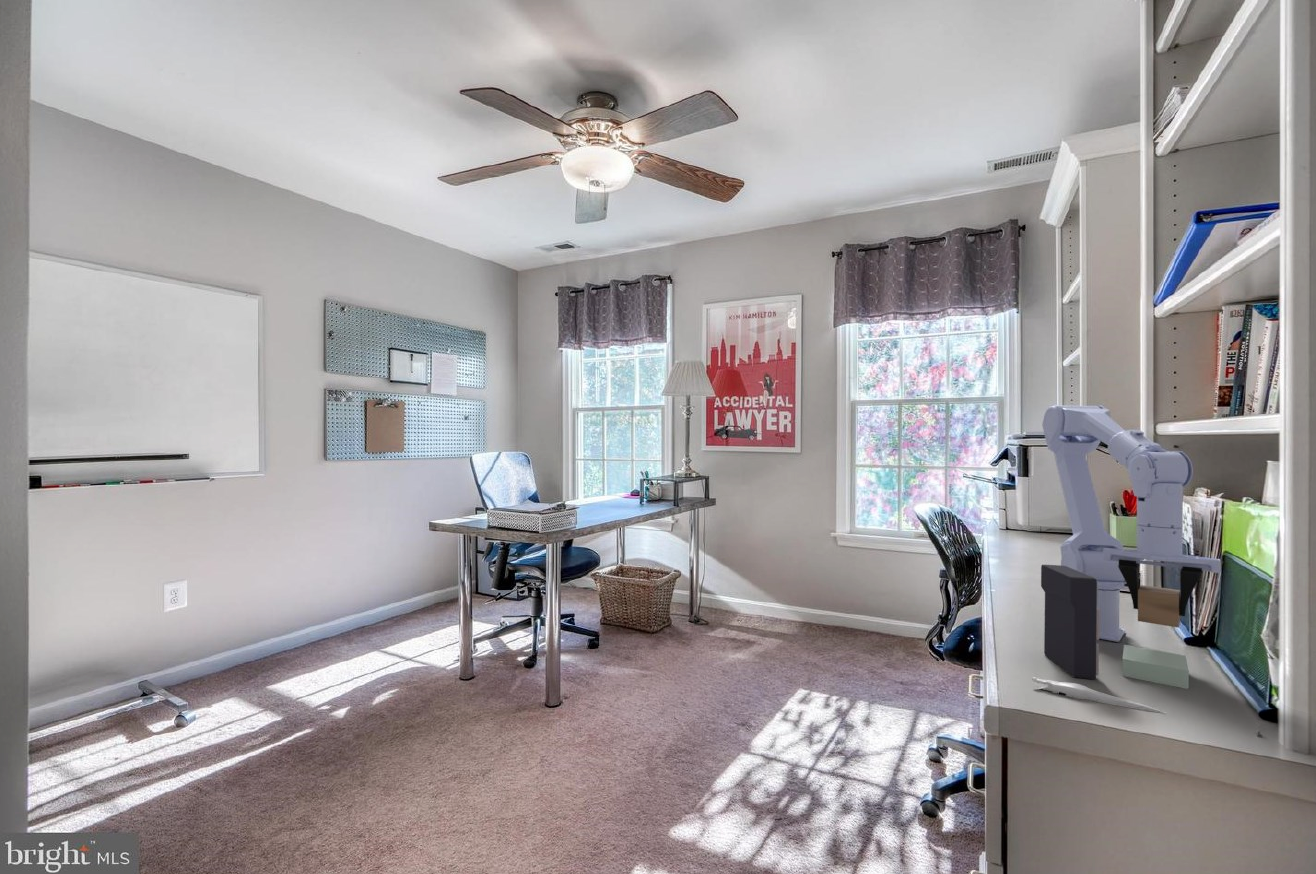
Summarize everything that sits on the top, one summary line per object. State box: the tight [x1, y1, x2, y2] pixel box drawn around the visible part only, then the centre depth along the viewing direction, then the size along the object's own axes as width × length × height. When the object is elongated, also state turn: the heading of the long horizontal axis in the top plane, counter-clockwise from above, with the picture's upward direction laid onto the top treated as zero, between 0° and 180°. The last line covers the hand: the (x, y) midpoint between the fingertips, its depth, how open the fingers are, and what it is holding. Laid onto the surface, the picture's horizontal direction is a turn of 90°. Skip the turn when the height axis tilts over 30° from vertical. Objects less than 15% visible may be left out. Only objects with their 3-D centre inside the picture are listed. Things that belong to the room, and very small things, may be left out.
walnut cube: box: [1137, 584, 1181, 629], centre depth 99 cm, size 5×5×5 cm
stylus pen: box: [1031, 676, 1167, 715], centre depth 84 cm, size 15×3×2 cm, turn 57°
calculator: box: [1040, 564, 1100, 680], centre depth 97 cm, size 11×4×15 cm, turn 168°
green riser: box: [1121, 644, 1190, 690], centre depth 95 cm, size 9×8×3 cm
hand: (1159, 611), depth 99 cm, fingers closed on walnut cube, 5 cm apart
